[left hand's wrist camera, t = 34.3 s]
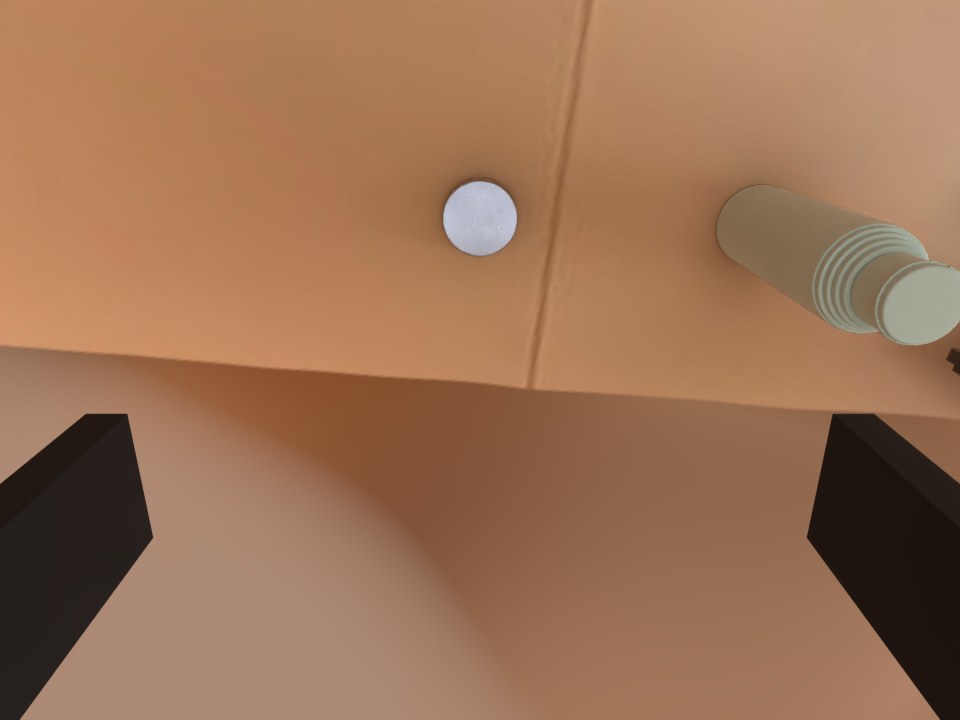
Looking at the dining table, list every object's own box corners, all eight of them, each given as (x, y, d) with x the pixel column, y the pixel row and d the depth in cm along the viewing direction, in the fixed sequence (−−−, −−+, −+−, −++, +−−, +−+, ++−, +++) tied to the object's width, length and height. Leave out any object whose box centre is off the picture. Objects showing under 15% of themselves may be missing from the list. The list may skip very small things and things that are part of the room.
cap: (506, 169, 40) (507, 172, 39) (523, 240, 42) (525, 246, 40) (435, 188, 41) (433, 191, 39) (454, 257, 42) (454, 264, 41)
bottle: (761, 278, 43) (927, 387, 27) (699, 239, 42) (833, 328, 26) (813, 210, 41) (1019, 284, 25) (749, 168, 40) (923, 218, 25)
